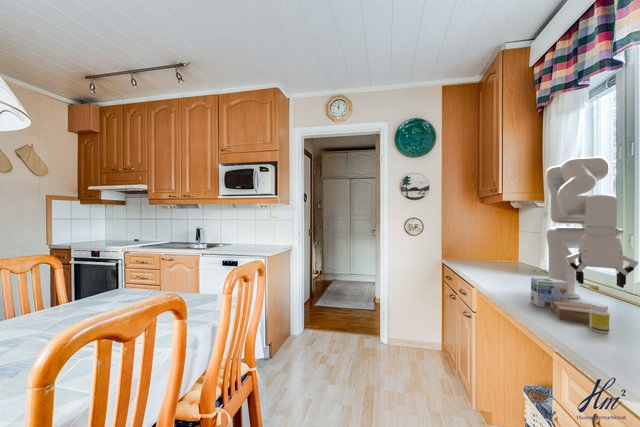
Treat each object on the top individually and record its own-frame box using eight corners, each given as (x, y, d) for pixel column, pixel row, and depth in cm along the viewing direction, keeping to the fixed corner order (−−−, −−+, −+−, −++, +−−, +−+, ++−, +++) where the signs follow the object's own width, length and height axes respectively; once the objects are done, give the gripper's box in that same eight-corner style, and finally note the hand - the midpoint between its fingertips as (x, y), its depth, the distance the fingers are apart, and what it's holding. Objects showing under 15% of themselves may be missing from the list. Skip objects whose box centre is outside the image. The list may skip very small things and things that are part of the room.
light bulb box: (537, 307, 117) (537, 280, 117) (529, 302, 123) (530, 277, 123) (568, 309, 114) (568, 282, 114) (559, 304, 120) (559, 278, 120)
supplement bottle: (613, 334, 91) (613, 307, 91) (595, 332, 92) (596, 306, 92) (601, 328, 96) (602, 303, 96) (585, 326, 97) (585, 302, 97)
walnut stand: (551, 309, 113) (551, 299, 113) (592, 315, 108) (592, 304, 108) (559, 320, 103) (559, 309, 103) (605, 326, 97) (605, 314, 97)
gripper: (631, 232, 93) (631, 285, 93) (563, 231, 101) (562, 279, 101) (643, 234, 86) (643, 291, 86) (569, 232, 94) (569, 284, 94)
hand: (599, 284), depth 94 cm, fingers open, 9 cm apart
